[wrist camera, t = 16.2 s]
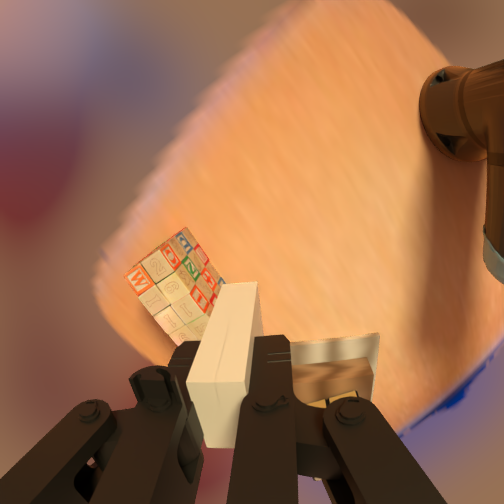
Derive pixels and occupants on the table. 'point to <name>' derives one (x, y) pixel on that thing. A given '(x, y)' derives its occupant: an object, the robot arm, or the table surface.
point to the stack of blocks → (177, 286)
